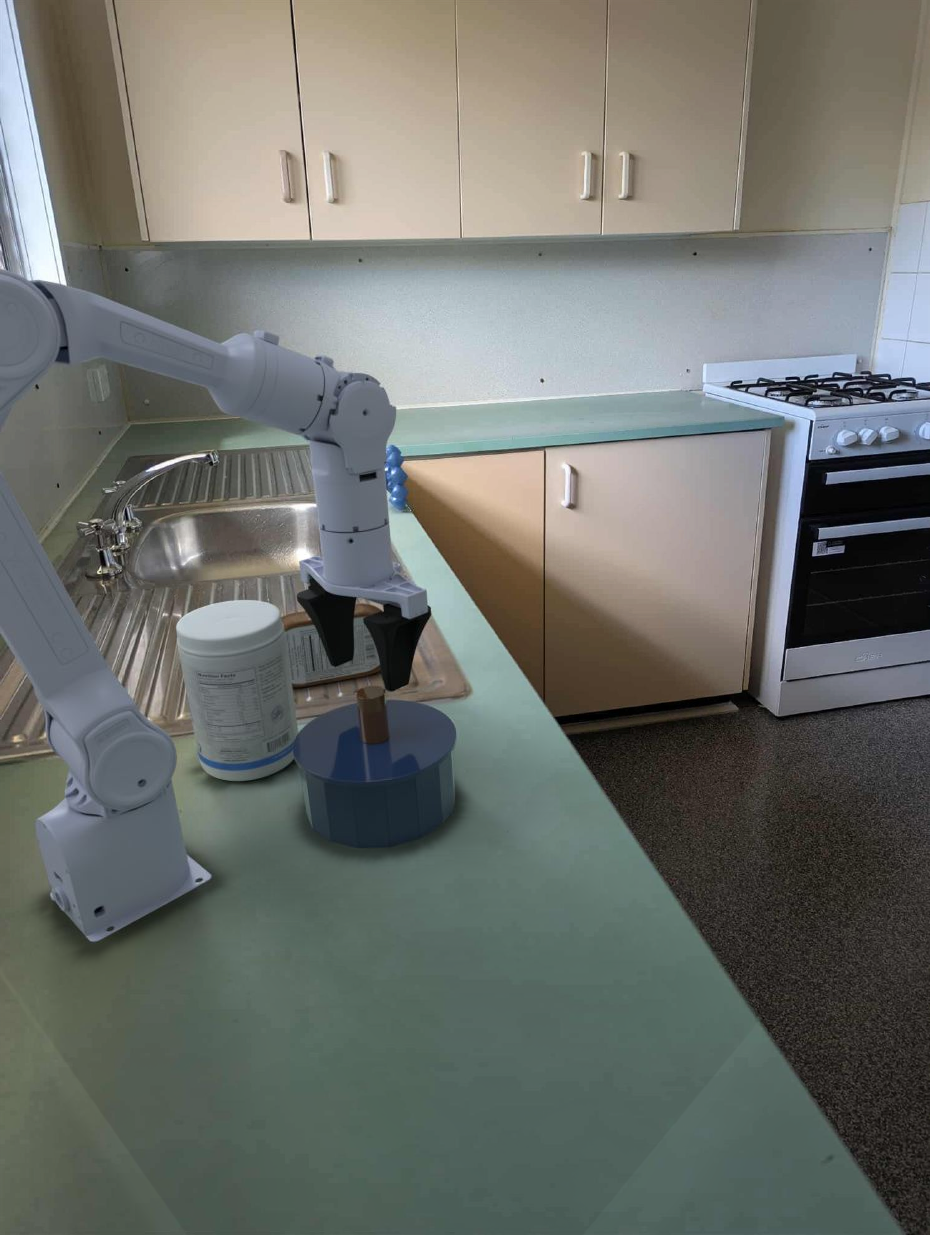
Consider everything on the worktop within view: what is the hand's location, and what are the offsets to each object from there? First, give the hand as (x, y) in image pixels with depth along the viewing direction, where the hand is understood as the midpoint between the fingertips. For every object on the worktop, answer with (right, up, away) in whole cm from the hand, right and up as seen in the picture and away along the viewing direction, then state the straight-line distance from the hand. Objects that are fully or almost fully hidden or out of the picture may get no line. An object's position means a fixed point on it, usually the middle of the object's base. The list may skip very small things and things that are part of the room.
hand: (369, 674), depth 76 cm
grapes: (-6, +26, +94) cm, 98 cm away
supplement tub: (-12, -9, +8) cm, 17 cm away
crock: (+1, -11, -1) cm, 12 cm away
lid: (+1, -6, -3) cm, 6 cm away
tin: (-7, -2, +24) cm, 25 cm away
